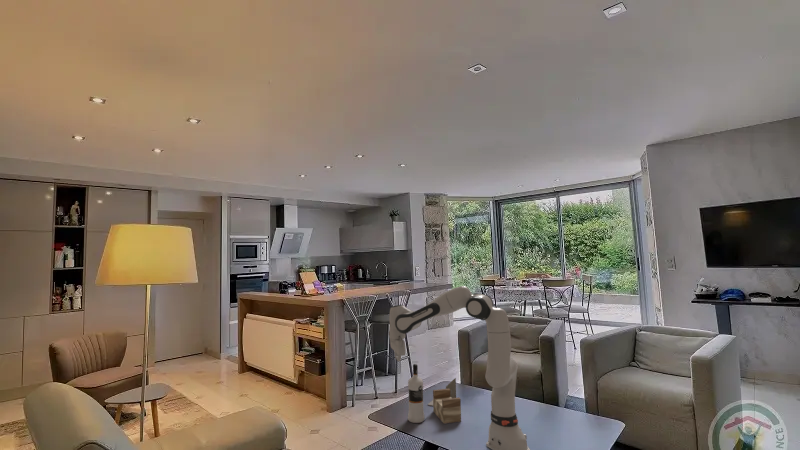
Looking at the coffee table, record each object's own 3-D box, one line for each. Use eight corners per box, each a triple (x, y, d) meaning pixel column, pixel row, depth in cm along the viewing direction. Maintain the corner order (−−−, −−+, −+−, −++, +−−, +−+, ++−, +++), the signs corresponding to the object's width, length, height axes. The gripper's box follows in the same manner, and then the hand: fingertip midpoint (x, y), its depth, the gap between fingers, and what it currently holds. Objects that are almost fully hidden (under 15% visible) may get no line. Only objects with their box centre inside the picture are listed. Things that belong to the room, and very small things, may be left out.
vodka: (418, 415, 216) (417, 361, 219) (428, 421, 209) (426, 364, 211) (404, 419, 211) (403, 363, 214) (414, 425, 204) (413, 367, 206)
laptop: (437, 395, 247) (437, 375, 248) (456, 398, 241) (455, 377, 242) (427, 405, 231) (426, 383, 232) (447, 409, 225) (446, 386, 226)
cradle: (461, 421, 208) (460, 398, 209) (443, 423, 205) (443, 400, 206) (449, 409, 224) (449, 388, 225) (433, 411, 222) (432, 390, 223)
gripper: (407, 337, 202) (408, 364, 201) (398, 330, 222) (398, 355, 221) (396, 338, 201) (396, 365, 200) (388, 331, 220) (388, 356, 219)
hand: (397, 360), depth 210 cm, fingers open, 3 cm apart
